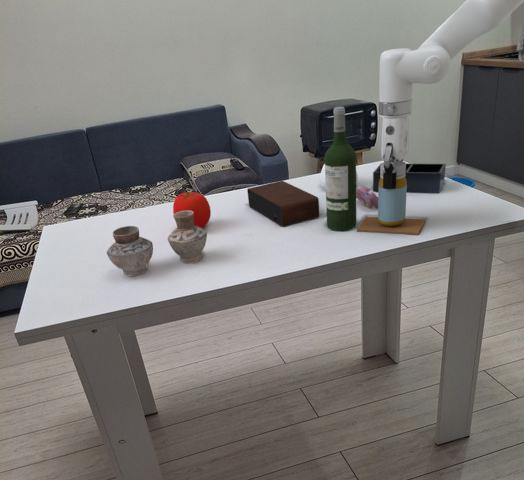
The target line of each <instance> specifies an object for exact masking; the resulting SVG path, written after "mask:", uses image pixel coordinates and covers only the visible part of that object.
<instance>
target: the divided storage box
mask: <svg viewBox="0 0 524 480" xmlns="http://www.w3.org/2000/svg"><path fill="white" fill-rule="evenodd" d="M382 163H383V162H381V163H380V164H379V165H378V166H377V167H376V168H375V169H374V171H373V172H372V192H373V193H375V192H376V193H378V188H379V181H380V178H381V177H380V174H381V173H380V166H381V164H382ZM446 167H447V163H406V172H405V178H406V181H407V191H406V194H408V193H410V194H440V192H441V191H442V189H443V187H444V184H445V179H446Z"/></svg>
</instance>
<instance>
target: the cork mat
mask: <svg viewBox="0 0 524 480" xmlns="http://www.w3.org/2000/svg"><path fill="white" fill-rule="evenodd" d="M425 223H426V219H425V218H408V217H405V221H404V222H403V223H402V224H400V225H396V226H385V225H382V224H381V223H380V222H379V221H378V216H368V215H367V216H365V217H364V219H363V221H361V222H360V225H359V226H358V227H357V229H356V232H360V233H375V234H376V233H377V234H394V235H410V236H413V235H414V236H419V235H420V233H421V231H422V229H423V227H424V225H425Z"/></svg>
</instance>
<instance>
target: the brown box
mask: <svg viewBox="0 0 524 480" xmlns="http://www.w3.org/2000/svg"><path fill="white" fill-rule="evenodd" d="M247 201H248V207H249V208H251V209H252V210H254V211H255V212H257V213H259V214H260V215H262V216H263V217H265V218H267V219H268V220H270V221H272V222H273V223H274V224H277V225H278V226H279V227H281V228H283V227H286V226H289V225H293V224H297V223H302V222H305V221H309V220H314V219H316V218H320V199H319V197H318V196H317V195H314V194H312V193H309V192H308V191H306V190H304V189H301V188H300V187H297V186H295V185H293V184H290V183H288V182H286V181H284V180H279V181H274V182H271V183H266V184H261V185H257V186H252V187H249V188H247Z"/></svg>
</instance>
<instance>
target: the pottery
mask: <svg viewBox="0 0 524 480" xmlns="http://www.w3.org/2000/svg"><path fill="white" fill-rule="evenodd" d="M193 216H194V212H193V211H189V210H185V211H180V212H177V213H175V214H173V216H172V217H173V219H174V221H175V224H176V227H177V228H175V229H174V230H173V231H172V232H171V233H170V234H169V235H168V237H167V241H168V244H169V245H170V248H171V250H172V251H173V252H174V253H175V254H176V255H178V256H179V261H180V262H181V263H184V264H193V263H197V262H199V261H201V260H202V259H203V255H202V252H203V251H204V249H205V246H206V243H207V239H208V238H207V237H208V231H206V229H204V228H200V227H198V226H195V225H194V220H193ZM112 236H113V240H114V241H115V242H113V243H112V244H111V246H109V247H108V249H107V250H106V255H107V258H108V259H109V261H110V262H111V264H113V266H115V267H116V268H118V269H120V270H122V273H123V274H124V275H125V276H127V277H135V276H139V275H142V274H144V273H145V272H146V271H147V270H148V268H147V265H149V263H150V261H151V260H152V257H153V254H154V245H153V242H152V241H151V240H150V239H147V238H145V237H142V236H140V229H139V227H138V226H136V225H127V226H121V227H118V228H116V229H114V230H113V231H112Z"/></svg>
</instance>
